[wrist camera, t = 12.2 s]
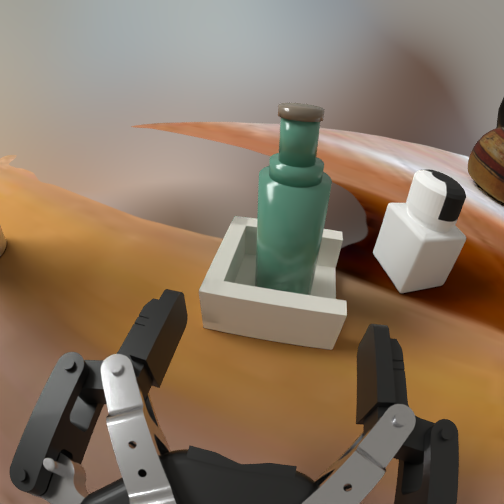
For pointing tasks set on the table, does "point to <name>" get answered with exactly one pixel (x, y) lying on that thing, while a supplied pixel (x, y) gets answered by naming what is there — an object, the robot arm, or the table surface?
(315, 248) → the green bottle
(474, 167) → the ceramic pitcher
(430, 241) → the medicine bottle
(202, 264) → the table surface
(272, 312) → the cream U-rest
